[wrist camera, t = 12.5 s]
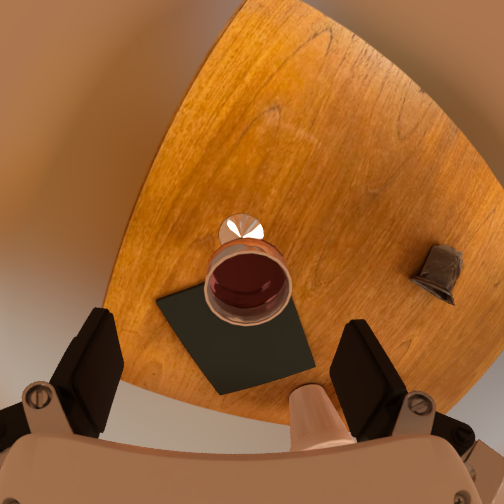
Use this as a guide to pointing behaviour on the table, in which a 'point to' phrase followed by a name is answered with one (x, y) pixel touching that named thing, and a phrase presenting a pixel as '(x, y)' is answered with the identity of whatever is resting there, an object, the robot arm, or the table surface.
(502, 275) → the table surface
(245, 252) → the wineglass
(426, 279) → the checkered cake slice
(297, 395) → the cup
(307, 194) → the table surface
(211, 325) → the mat
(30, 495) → the robot arm
